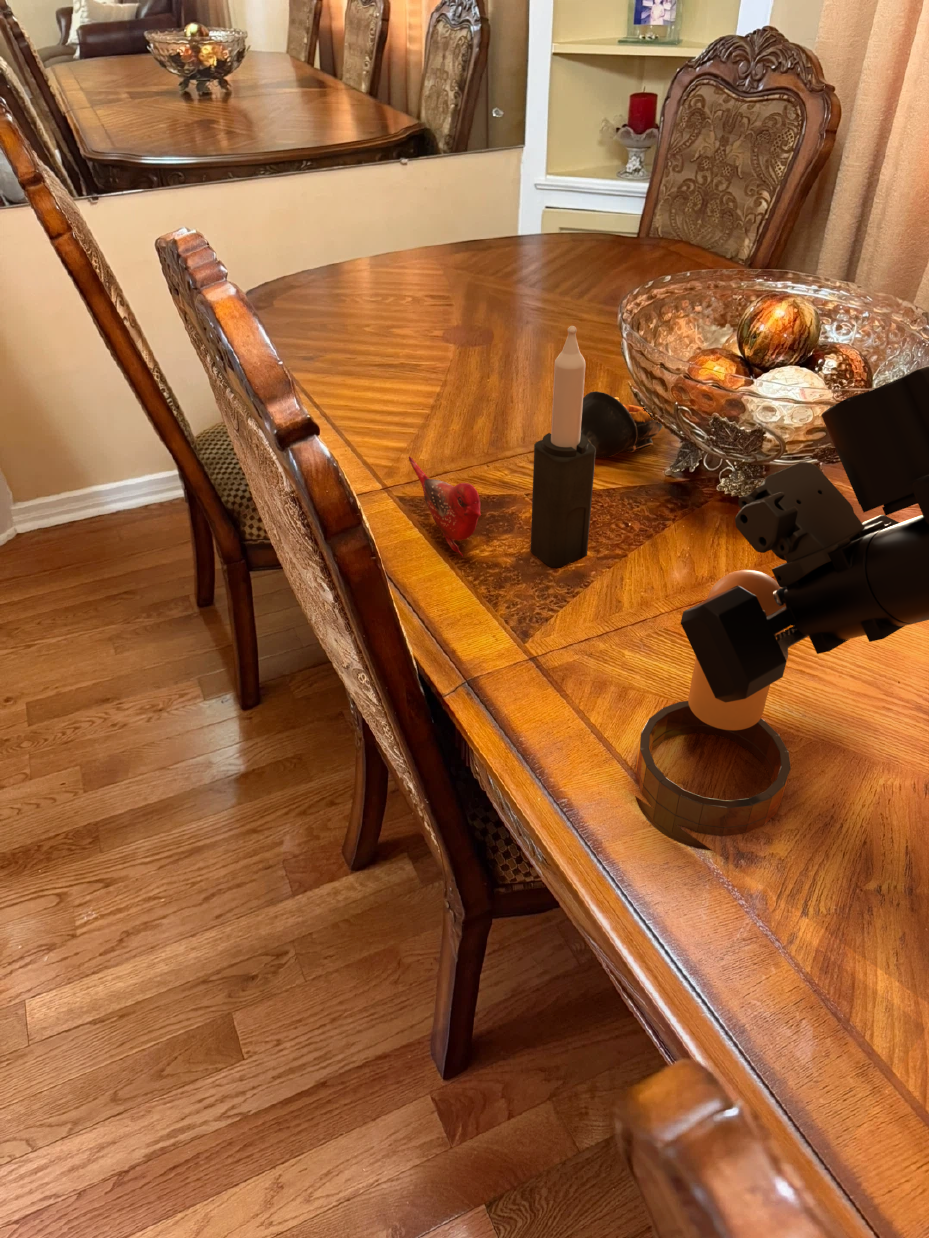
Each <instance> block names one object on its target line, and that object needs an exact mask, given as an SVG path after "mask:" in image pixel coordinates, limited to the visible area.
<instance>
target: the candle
mask: <svg viewBox="0 0 929 1238" xmlns="http://www.w3.org/2000/svg"><path fill="white" fill-rule="evenodd" d="M577 331H578V329H577V327H576V326H575V325H570V326H569V327H568V328H567V337H566V340H565V342H564V345H563V347H562V350H561V351H560V353H559V354H558V356H557V357H556V358H555V360H554V369H553V388H552V406H551V407H552V410H551V430H550V431H551V432H548V433H546V434H545V435H543V437H542V439H540V440H537V441H536V442H535V443H534V446H533V466H532V467H533V469H532V474H533V475H532V494H531V495H532V496H531V497H532V498H531V521H530V522H531V523H530V524H531V525H530V549H529V550H530V552H531V553H532V554H533V555H534V556H535V557H537V559H539V560H540V561H542V562H543V563H544V564H545V565H546V566H548V567H550V568H554V569H560V568H563V567H564V566H566V565H568V564H570V563H574V562H576V561H579V560H582V559H585V558H586V557H587V556H588V549H589V536H590V525H591V514H592V501H593V489H594V479H595V478H594V477H595V465H596V457H595V456H596V448H595V447H594V446H593V445H591V444H590V443H588V439H587V437H586V436H585V435H583V434H581V421H582V407H583V398H584V391H585V378H586V360H585V358H584V356H583V354H582V353H581V351H580V348H579V343H578V339H577V335H576V334H577Z"/></svg>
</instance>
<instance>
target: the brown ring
mask: <svg viewBox="0 0 929 1238" xmlns="http://www.w3.org/2000/svg"><path fill="white" fill-rule="evenodd" d="M693 734H700V735H708V736H716V737H718V738H721V739H724V740H727V741H730V742H734V743H735V744H737V745H739V746H740V747H742V748H744V749H745V750H747V751H748V752H750V753H751V754H752V755H753V756H754V757H755V758H756V759H757V760H758V761H759V762H760V763H761V764H762V765H763V767H764V769H765V770H766V772H767V774H768V776H769V778H770V780H771V785H769V786H768V787H767V788H766V789H765V790H764V791H762V792H759V793H757V794H755V795H752V796H750V797H747V798H737V799H730V800H729V799H728V800H727V799H726V800H725V799H719V798H710V797H705V796H701V795H699V794H696V793H693V792H691V791H688V790H687V789H684V788H683V787H681V786H679V785H677V784H676V783H675V782H674V781H672V780H670V779H669V778H667V776H666V775H665V774H664V773H663V772H662V770H660V768H659V767H658V766H657V765H656V763H655V760H654V758H653V756H652V751H654V750H655V749H656V748H657V747H658V746H659V745H661V744H662V743H663V742H665V741H668V740H670V739H672V738H675V737H678V736H684V735H693ZM791 770H792V765H791V758H790V751H789V749H788V748H787V746H786V744H785V742H784V740H783V738H782V737H781V734H780V733H778V732H777V731H776V730H775V729H774V728H773V727H772V726H771V725H770V724H769V723H768V722H767V721H766V720H764V719H763V718H761V719H760V720H759V721H758V722H757V723H756V724H755V725H753V726H751V727H749V728H746V729H742V730H724V729H719V728H716V727H713V726H710V725H708V724H706V723H704V722H703V721H701V720H700V719H699V718H698V717H696V716H695V714H694V713H693V712H692V710H691V709H690V706H689V703H688V700H682V701H678V702H675V703H672V704H670V705H666V706H664V707H662V708H661V709H659V710H658V711H657V712H656V713H654V714H653V715H652V716H650V717H649V719H647V721H646V723H645V724H644V726H643V728H642V730H641V732H640V736H639V743H638V749H637V755H636V763H635V779H636V782H637V786H638V788H639V791H640V793H641V795H642V797H643V798H644V799H645V800H646V802H648V803H646V802H645V801H643V800H642V799H641V798H640V797H637V795H634V798H635V800H636V803H637V805H638V807H639V809H640V812H641V813H642V815H643V816H644V817H645V818H646V820H647V821H648V822H649V823H650V824H651V825H652V826H653V827H654V828H655V829H656V830H657V831H659V832H660V833H662V834H663V835H665V836H666V837H667V838H670V839H671V840H673V841H676V842H677V843H679V844H682V845H684V846H687V847H690V848H694V849H698V850H704V851H713V849H712V848H710V847H708V845H705V844H704V842H701V841H700V840H698V839H697V838H696V837H694V836H693V835H691V834H690V833H688V832H687V830H688V831H691V832H693V833H697V834H700V835H709V836H715V837H729V836H737V835H745V834H748V833H750V832H753V831H754V830H758V829H759V828H762V827H764V826H765V825H766V824H767V823H768V822H769V821H770V820H771V819H772V818H773V817H774V816H775V815H776V814H777V813H778V810H779V807H780V804H781V802H782V799H783V796H784V792H785V789H786V786H787V783H788V779H789V776H790V773H791ZM684 829H685V830H684Z"/></svg>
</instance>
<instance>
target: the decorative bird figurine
mask: <svg viewBox="0 0 929 1238" xmlns="http://www.w3.org/2000/svg"><path fill="white" fill-rule="evenodd" d="M408 461H409V463H410V465H411V467H412V468H413V471H414V473H415V475H416V477H417V478H418V480H419V482H420V484H421V488H422V492H423V496H424V500H425V501H424V502H425V504H426V506H427V508H428V510H429V512H430V514H431V517H432V519H433V521H434V523H435V524H436V526H437V527H438V529H439V530H440V531H441V533H442V534H441V536H443V537H444V540H445V541H446V543H447V544H448V545H449V547H450V549H452V551H453V552H455V553H458V554H459V555H460V556H461V557H462V558H464V554H463V553H462V552H461V551H460V549H459V546H458V545H457V544H456V543H455V541H464V540H467V539H469V538H470V537H471V536H472V535H473V534H474V533H475V531H476V529H477V525H478V520H479V518H480V517H481V516H482V514H481V497H480V495H479V493H478V490H477V488H476V487H475V486H474V485H473V484H471V483H467V482H460V483H458V484H456V485H455V486H454V485H452V484H450V483H448V482H446V481H443V480H440V479H436V478H435V479H434V478H430V477H428V475H426V473H425V472H424V471H423V470H422V469H421V467H420V466H419V465H418V464H417V462H416V460H414V458H412V457H411V456H408Z"/></svg>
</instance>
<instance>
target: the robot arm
mask: <svg viewBox="0 0 929 1238" xmlns="http://www.w3.org/2000/svg"><path fill="white" fill-rule="evenodd" d="M820 416H821V418H822V420H823V422H824V425H825V427H826V430H827V432H828V435H829V437H830V439H831V441H832V444H833V446H834V449H835V451H836V453H837V455H838V458H839V460H840V463H841V465H842V468H843V470H844V472H845V474H846V477H847V479H848V482H849V484H850V486H851V488H852V491H853V493H854V496H855V498H856V500H857V503H858V505H859V506H860V507H861V509H862V513H867V512H869V511H872V510H874V509H876V508H879V507H881V506H882V507H881V508H882V509H881V510H882V511H883V514H880V515H878V516H875V517H873V518H870V519H868V520H865V521H861V520H860V518H859V517H858V516H857V514H856V513H855V512H854V507H853V505H852V503H850V501H849V500H848V499H847V498H846V497H845V496H844V494H843V493H841V491H840V490H839V489H838V487H836V485H834V484H833V482H832V481H831V480H830V479H829V478H828V477H827V476H826V475H825V473H823V471H822V470H821V469H820V468H819V467H817V466H816V465H815V464H814V463H811V462H808V461H800V462H797V463H795V464H793V465H791V466H788V467H786V468H784V469H783V468H782V469H781V470H779V471H776V472H774V473H772V474H769V475H767V476H766V477H765V478H764V480H763V481H762V482H761V484H760V485H759V486H757V487H755V488H754V489H753V490H752V491H751V492H749V493H746V494H745V495H742V496H740V497H739V498H738V501H737V504H738V506H739V508H740V510H739V511H738V513H737V514H736V515H735V517H734V524H735V527H736V529H737V530H738V531H739V533H740V534H741V535H742V536H743V537H744V539H745V540H746V541H747V542H748V544H749V545H750V546H751V547H752V548H753V550H755V552H757V553H761V554H765V553H767V552H769V551H772V553H773V554H774V555H775V556H776V557H777V558H779V559H780V560H783V561H785V563H782V564H780V565H777V566H775V567H774V568H771V572H772V574H773V575H774V578H775V581H776V582H777V583H778V585H779V586H780V587H781V588H780V589H778V590H776V591H774V592H773V597H774V599H775V601H776V603H777V604H778V605H779V606H782V605H784V604H786V607H784V608H782V609H780V610H778V611H776V612H775V613H773V614H771V615H769V616H767V615H766V613H765V611H764V610H763V609H762V607H761V605H760V603H759V601H758V599H757V596H756V595H754V594H752V593H751V592H749V591H747V590H746V589H744V588H743V587H741V586H738V585H737V586H735V587H733V588H731V589H729V590H727V591H725V592H723V593H721V594H718V595H716V596H714V597H711V598H709V599H707V598H706V599H705V600H703V601H701V602H700V603H697V604H695V605H693V606H691V607H689V608H687V609H686V610H683V611H682V615H681V619H680V625H681V627H682V629H683V631H684V634H685V636H686V638H687V640H688V643H689V644H690V646H691V649H692V651H693V653H694V655H695V658H696V657H697V660H698V662H699V664H700V666H701V668H702V670H703V673H704V675H705V677H706V679H707V681H708V683H709V685H710V688H711V690H712V692H713V694H714V696H715V698H716V699H719V700H721V701H723V702H725V703H726V702H731V701H737V700H742V699H746V698H748V697H749V696H751V695H753V694H755V693H756V692H758V691H760V690H761V689H763V688H765V687H767V686H768V685H770V686H771V685H772V684H773V683H775V682H778V681H779V680H781V679H782V678H783V677H784V673H785V670H786V666H787V660H788V659H789V648H790V647H792V646H794V645H796V644H797V643H799V642H801V641H803V640H805V639H806V638H808V637H809V639H810V642H811V644H812V646H813V648H814V650H815V653H816V655H819V654H824V653H828V652H831V651H832V650H834V649H836V648H837V647H839V646H841V645H842V644H845V643H847V642H848V641H850V640H851V639H855V638H860V637H864V636H866V638H867V640H868V642H869V643H871V642H875V641H880V640H884V639H886V638H888V637H889V636H891V635H893V634H894V633H896V632H898V631H899V630H901V629H903V628H905V627H906V626H909V625H914V624H918V623H922V622H926V621H929V365H925V366H922V367H919V368H916V369H915V370H913V371H911V372H909V373H907V374H906V375H904V376H902V377H900V378H897V379H895V380H892V381H890V382H887V383H885V384H883V385H880V386H878V387H876V388H873V389H871V390H867V391H865V392H862V393H859V394H855V395H852V396H849V397H847V398H845V399H843V400H841V401H839V402H837V403H835V404H833V405H832V406H830V407H829V408H827V409H826V410H824V411H823V412H822V413H821V415H820ZM915 505H918V507H919V510H920V512H921V515H918V516H916V517H913V518H909V519H907V520H904V521H901V522H899V521H897V520H895V519H893V518H891V517H889V515H892V514H894V513H896V512H897V513H898V512H899V511H902V510H905V509H907V508H910V507H912V506H915ZM782 630H784V632H781V634H777V635H776V633H778V632H780V631H782ZM776 638H777V639H776Z"/></svg>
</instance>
